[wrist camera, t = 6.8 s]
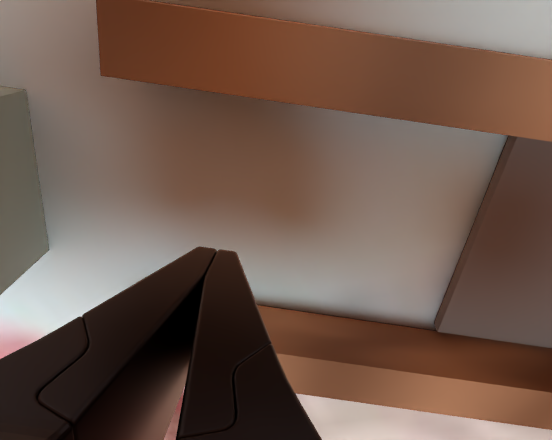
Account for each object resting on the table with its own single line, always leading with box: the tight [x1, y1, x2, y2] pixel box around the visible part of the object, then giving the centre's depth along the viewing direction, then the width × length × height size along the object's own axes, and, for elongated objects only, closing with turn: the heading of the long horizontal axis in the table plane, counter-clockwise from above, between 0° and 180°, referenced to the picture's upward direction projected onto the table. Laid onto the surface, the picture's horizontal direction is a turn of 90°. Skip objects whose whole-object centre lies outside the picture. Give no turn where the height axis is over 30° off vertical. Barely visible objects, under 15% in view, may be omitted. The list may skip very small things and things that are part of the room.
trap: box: [434, 135, 552, 348], centre depth 12 cm, size 4×6×1 cm, turn 173°
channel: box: [96, 0, 552, 430], centre depth 11 cm, size 16×10×2 cm, turn 83°
